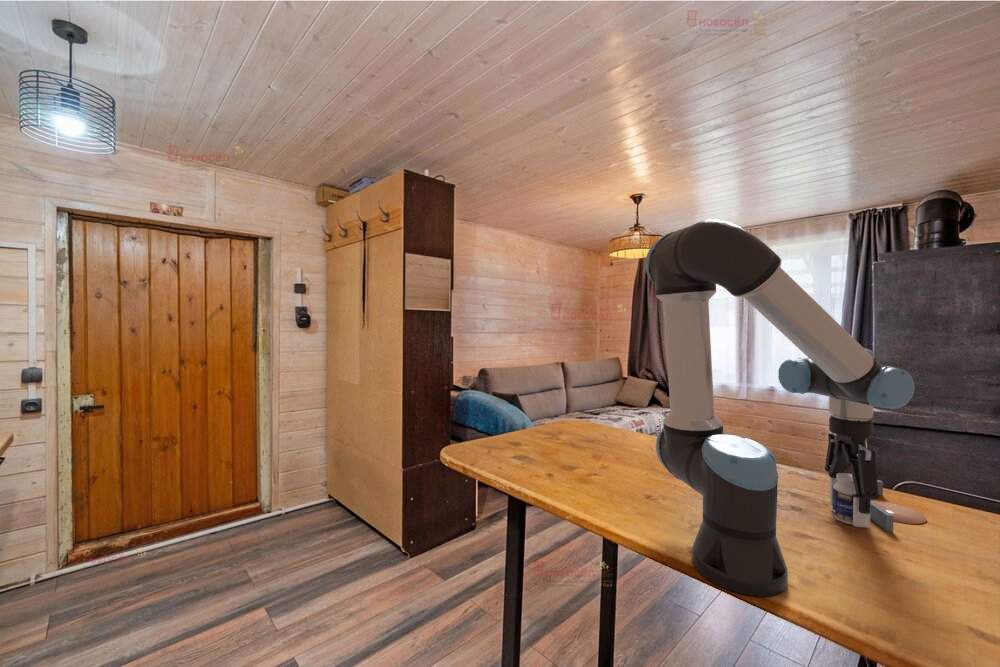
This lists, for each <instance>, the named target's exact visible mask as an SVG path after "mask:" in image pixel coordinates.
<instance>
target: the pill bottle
mask: <svg viewBox="0 0 1000 667" xmlns="http://www.w3.org/2000/svg"><path fill="white" fill-rule="evenodd" d="M836 480H837V481H838V483H835V484H834V486H833V506H832V513H831V514H832V516H833V518H834V519H836V520H837V521H839V522H840V523H844V524H848V525H852V526H854V525H853V495H852V494H856V490H855V486H854V482H853V477H852V473H847V472H845V473H838V474H837V475H836Z"/></svg>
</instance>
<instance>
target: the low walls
mask: <svg viewBox="0 0 1000 667" xmlns="http://www.w3.org/2000/svg"><path fill="white" fill-rule="evenodd" d="M877 486H878V494H879V496H884V493H883V492H884V482H883V481H882V480H879V479H877ZM875 502H876V501H873V499H871V506H870V521H873V523H875V524H876V525H877V526H878V527H880V528H881V529H882V530H884V531H885V532H889V533H894V521H893V515H891V514H890V513H889V512H887V511H886V510H884V509H883V508H882V507H880V506H879V505H877V504H876V503H875Z"/></svg>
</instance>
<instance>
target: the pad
mask: <svg viewBox="0 0 1000 667" xmlns="http://www.w3.org/2000/svg"><path fill="white" fill-rule="evenodd" d="M874 502H875V503H876V504H877V505H879V506H880V507H882V508H883V509H884V510H886V511H887V512H889V513H890V514H891V515H893V522H898V523H902V524H903V523H904V524H910V525H920V524H925V523H926V522H927V517H926V516H925V515H924V514H922V513H921V512H919V511H917V510H916V509H912V508H911V507H910V508H909V507H908V506H907V507H906V506H903V505H900V504H895V503H890V502H884V501H874Z"/></svg>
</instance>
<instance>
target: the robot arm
mask: <svg viewBox="0 0 1000 667" xmlns="http://www.w3.org/2000/svg"><path fill="white" fill-rule="evenodd" d="M644 262H645V264H644V265H645V266H644V267H645V273H646V275H647V277H648V279H649V280H650V281H651V282H652V283H653V284H654V285H655V298H657V299H658V300H659V301H661V302H662V304H663V305H664V306H663V307H664V322H665V323H664V325H665V340H666V356H667V358H666V359H667V360H666V361H667V374H668V392H669V393H668V394H669V396H668V398H669V410H670V411H669V412H670V413H669V414H668V415H666V417H665V418H663V421H662V422H663V427H662V428H661V431H660V433H658V435H657V437H656V441H655V451H656V456H657V457H658V461H659V462H660V463H661V465H662V466H663V467H664V468H665V469H666V470H667V471H668V473H670V474H671V475H672V476H673V477H675V478H676V479H678V480H680V481H682V482H683V483H684V484H686V485H687V486H688V487H690V488H691V489H693V490H694V491H696V492H697V493H699V494H700V495H701V497H702V522H701V523H700V526H699V529H698V532H697V534H696V537H695V539H694V541H693V544H692V547H691V548H692V550H691V552H692V553H691V558H692V559H691V561H692V565H693V566H694V568H695V569H696V570H697V571H698V573H699V574H700V575H701V576H703V578H705V579H707V580H708V581H710V582H711V583H713V584H714V585H717V586H718V587H720V588H723V589H726V590H728V591H730V592H734V593H736V594H741V595H745V596H746V595H747V596H751V597H765V598H766V597H773V596H776V595H780V594H782V593H783V592H785V591H786V589H787V587H788V585H789V584H788V583H789V581H788V580H789V578H788V576H789V572H788V567H787V565H786V562H785V558H784V556H783V552H782V550H781V547H780V544H779V541H778V538H777V512H778V510H777V509H778V507H777V506H778V483H779V473H778V467H777V466H778V465H777V459H776V457H775V454H774V453H773V452H772V450H770V449H769V448H768V446H767V447H766V446H765V445H763V444H762V443H760V442H758V441H755V440H754V439H750V438H745V437H744V438H743V437H741V436H738V435H734V434H727V433H726V434H724V433H725V432H724V423H723V421H722V420H721V418H719V417H718V416H717V415H716V414H715V405H714V404H715V402H714V399H715V398H714V382H713V362H712V345H711V344H712V342H711V341H712V340H711V328H710V327H711V326H710V323H711V322H710V308H709V307H710V305H709V304H710V303H709V302H710V300H711V298H713V297H714V295H716V293H717V285H718V286H720V287H722V288H724V289H725V290H726V291H727V292H728V293H729V294H730V295H731V296H734V297H736V298H740V297H743V298H744V299H745V300H746V301H747V302H748V303H749V304H750V305H751V306H752V307H753V308H754V309H756V310H757V311H758V312H759V313H760V314H761V315H762V316H763V317H764V318H765V319H767V321H768V322H769V323H771V324H772V325H773V326H774V327H775V328H776V329H777V330H778V331H779V332H780V333H782V335H784V337H785V338H787V339H788V340H789V342H791V343H792V344H793V345H794V346H796V348H798V350H800V352H801V353H803V354H804V355H805V356H806V357H807V358H802V357H798V358H791V359H790V358H789V359H786V360H784V361H783V362H782V363H781V364H780V366H779V369H778V372H777V374H778V376H777V377H778V382H779V384H780V385H781V387H782V388H783V389H784V390H785V391H787V392H788V393H790V394H791V393H792V394H801V395H802V394H804V395H805V394H816V395H820V396H824V397H828V398H829V400H828V403H829V404H828V413H829V414H830V416H829V417H828V418H829V419H828V430H829V433H828V436H827V437H828V438H827V439H828V444H827V451H826V457H825V464H824V471H825V472H828V477H830V478H829V505H830V506H831V507H833V486H834V484H835V483H838V481H837V480H836V475H837V474H838V473H846V470H847V467H848V465H849V467H850V468H849V469H850V472H851V473H850V474H852V477H853V482H854V486H855V490H856V494H852V495H853V525H852V526H853V527H856V528H857V527H858V528H868V529H870V528H871V519H870V506H871V500H879V498H880V495H879V494H878V486H877V480H878V478H877V472H876V469H877V468H876V454H877V453H876V451H875V450H874V449H873V450H871V449H870V450H868V448H867V446H866V441H865V440H866V439H871V438H872V437H873V436H874V421H873V420H872V418H874V408H884V409H890V410H891V409H893V410H894V409H901V408H902V407H905V406H906V405H907V404H908V403H909V402H910V400H911V399H912V398H913V396H914V393H915V390H916V389H915V388H916V387H915V382H914V379H913V377H912V375H911V374H910V373H909V372H908V371H906V370H905V369H902V368H898V367H894V366H893V365H892V366H891V365H886V366H884V365H883V364H881V363H880V362H879V361H878V360H877V359H876V358H875V353H874V352H873V350H871V349H868V348H865V347H863V346H862V344H860V343H859V342H858V340H856V339H855V338H854V337H853V336H852V334H850V333H849V332H848V331H847V330H845V328H844V327H842V325H841V324H839V322H837V321H836V320H835V318H833V317H832V316H831V315H830V314H829V313H828V312H827V311H826V310H825V309H824V308H823V307H822V306H821V305H820V304H819V303H818V302H817V301H816V300H815V299H814V298H813V297H812V296H811V295H809V293H807V291H806V290H805V289H803V288H802V287H801V286H800V285H799V284H798V283H797V282H796V281H795V280H794V279H793V278H792V277H791V276H790V274H788V273H787V272H786V271H785V270H784V269H783V268H782V267H781V266H782V259H781V257H780V256H779V255H778V254H776V252H775V251H773V249H771V248H770V247H769V246H768V245H767V244H766V243H765V242H764V241H762V240H761V239H760V238H758V237H757V236H755V235H754V234H752V233H751V232H749V231H747V230H746V229H744V228H742V227H741V226H738V225H737V224H735V223H732V222H729V221H725V220H721V219H720V220H719V219H707V220H705V219H704V220H702V221H698V222H696V223H693V224H691V225H689V226H686V227H683V228H680V229H678V230H674V231H670V232H669V233H666V234H665V235H664V236H662V237H660V238H658V239H657V240H656V241H655V242H654V243H653V244H652V245H651V246H650V248H649V249H648V252H647V253H646V256H645V261H644Z"/></svg>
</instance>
